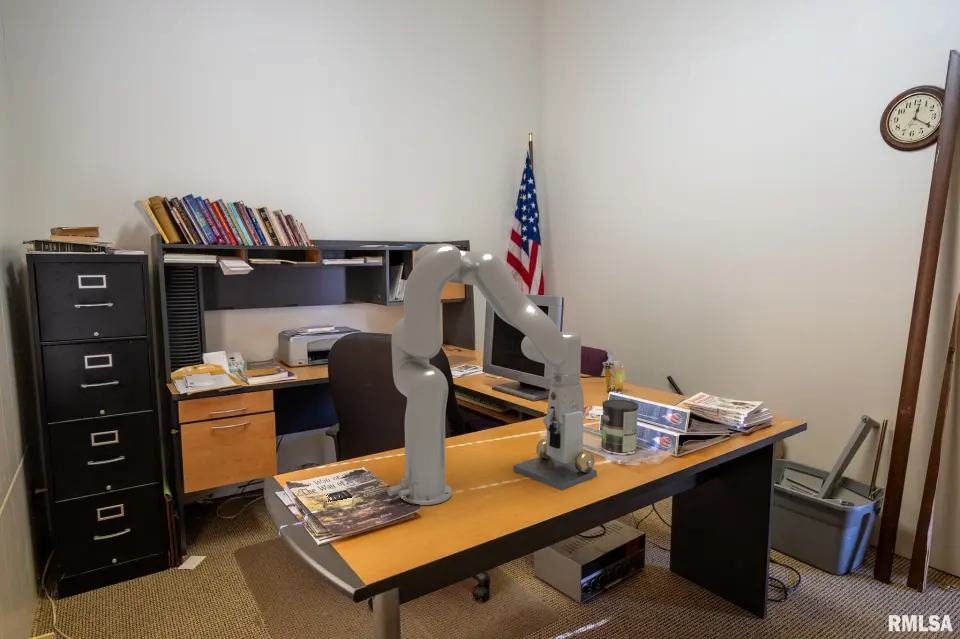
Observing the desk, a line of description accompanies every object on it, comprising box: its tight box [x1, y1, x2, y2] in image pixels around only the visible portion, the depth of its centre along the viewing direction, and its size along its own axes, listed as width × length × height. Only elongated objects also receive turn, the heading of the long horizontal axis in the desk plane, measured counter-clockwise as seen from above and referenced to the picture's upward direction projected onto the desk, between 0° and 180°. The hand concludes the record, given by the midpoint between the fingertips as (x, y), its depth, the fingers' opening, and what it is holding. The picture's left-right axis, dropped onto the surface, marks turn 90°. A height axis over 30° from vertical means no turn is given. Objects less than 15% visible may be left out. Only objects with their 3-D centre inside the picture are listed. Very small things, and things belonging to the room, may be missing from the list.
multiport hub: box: [326, 489, 354, 502], centre depth 130 cm, size 4×11×2 cm, turn 125°
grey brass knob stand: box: [512, 438, 598, 491], centre depth 150 cm, size 14×18×6 cm
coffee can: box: [601, 398, 639, 453], centre depth 169 cm, size 10×10×14 cm
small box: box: [546, 407, 585, 463], centre depth 152 cm, size 8×6×13 cm
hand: (564, 443), depth 152 cm, fingers closed on small box, 7 cm apart
